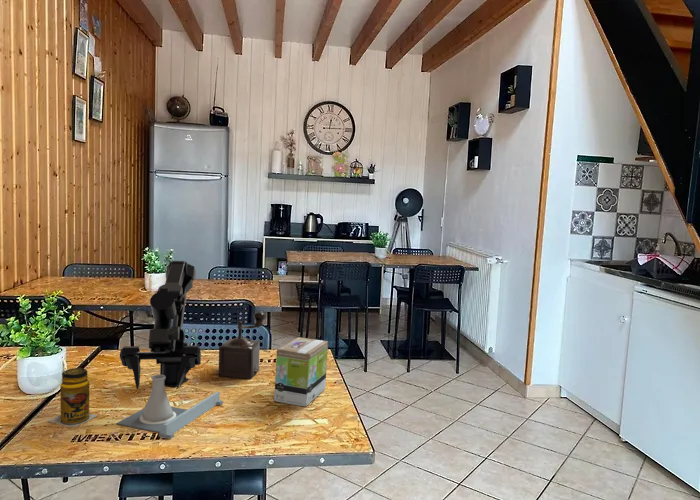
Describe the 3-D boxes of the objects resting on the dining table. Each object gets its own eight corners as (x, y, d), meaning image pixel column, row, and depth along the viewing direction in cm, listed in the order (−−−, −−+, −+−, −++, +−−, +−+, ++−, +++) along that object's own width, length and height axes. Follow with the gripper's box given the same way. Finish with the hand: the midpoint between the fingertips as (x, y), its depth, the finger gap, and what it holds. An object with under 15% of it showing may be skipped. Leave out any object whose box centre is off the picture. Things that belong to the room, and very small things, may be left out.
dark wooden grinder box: (252, 380, 154) (254, 321, 152) (217, 377, 155) (218, 319, 153) (265, 364, 169) (267, 311, 168) (233, 361, 170) (234, 308, 169)
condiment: (74, 428, 117) (74, 377, 116) (45, 421, 120) (45, 372, 119) (98, 416, 124) (98, 368, 123) (71, 410, 127) (71, 363, 126)
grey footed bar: (159, 436, 115) (159, 423, 114) (212, 401, 136) (213, 391, 135) (170, 438, 114) (170, 425, 114) (222, 403, 135) (223, 392, 135)
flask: (151, 425, 119) (151, 383, 118) (136, 415, 124) (136, 376, 123) (179, 416, 125) (180, 376, 124) (163, 407, 130) (164, 369, 129)
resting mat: (116, 424, 120) (116, 422, 120) (153, 404, 132) (153, 402, 132) (163, 433, 116) (163, 432, 116) (196, 412, 129) (196, 410, 129)
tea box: (307, 408, 135) (309, 353, 134) (272, 402, 138) (274, 348, 136) (326, 389, 149) (328, 339, 148) (294, 384, 152) (296, 335, 151)
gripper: (121, 314, 124) (109, 373, 114) (201, 314, 128) (196, 371, 118) (128, 337, 132) (118, 394, 123) (202, 336, 136) (198, 392, 127)
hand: (157, 387), depth 122 cm, fingers open, 9 cm apart
